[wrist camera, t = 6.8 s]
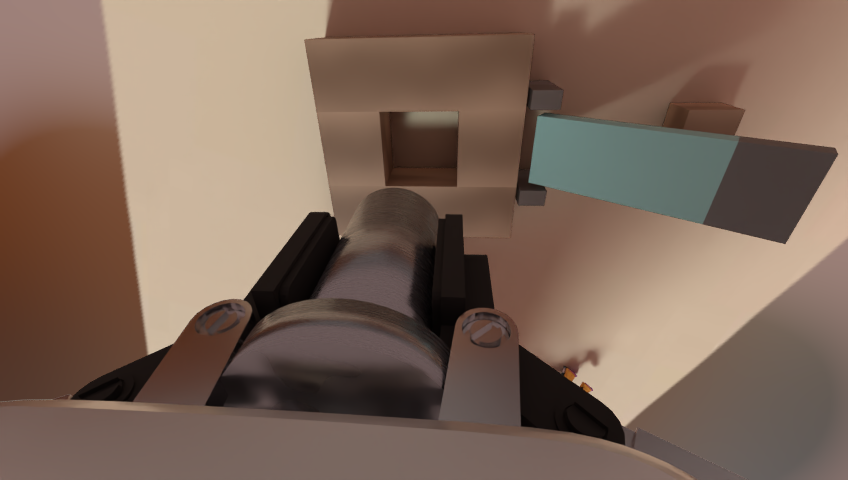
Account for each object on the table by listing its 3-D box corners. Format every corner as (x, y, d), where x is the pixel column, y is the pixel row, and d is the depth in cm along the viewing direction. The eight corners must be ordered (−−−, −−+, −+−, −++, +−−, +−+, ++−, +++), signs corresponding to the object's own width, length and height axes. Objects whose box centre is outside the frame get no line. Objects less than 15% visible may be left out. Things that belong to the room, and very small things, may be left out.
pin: (458, 280, 14) (460, 496, 8) (343, 276, 14) (255, 481, 8) (462, 168, 12) (470, 348, 5) (324, 167, 12) (175, 335, 6)
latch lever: (784, 234, 16) (785, 243, 16) (535, 177, 23) (528, 182, 22) (835, 147, 14) (837, 154, 14) (544, 112, 21) (537, 115, 20)
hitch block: (676, 217, 26) (707, 244, 23) (350, 212, 28) (336, 236, 25) (749, 27, 20) (806, 28, 17) (324, 37, 22) (302, 39, 19)
